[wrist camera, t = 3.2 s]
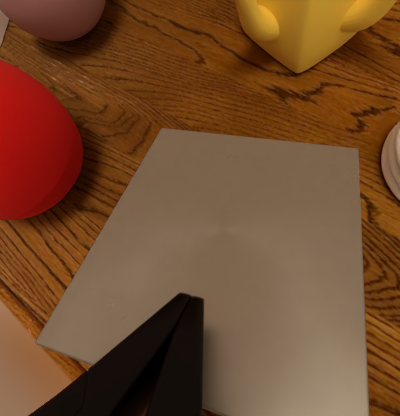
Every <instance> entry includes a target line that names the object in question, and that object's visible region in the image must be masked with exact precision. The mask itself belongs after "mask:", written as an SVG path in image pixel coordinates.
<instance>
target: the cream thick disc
mask: <svg viewBox="0 0 400 416" xmlns="http://www.w3.org/2000/svg"><path fill="white" fill-rule="evenodd" d="M381 165H382V171H383V175H384V178H385V180H386V182H387V185H388V186H389V188H390V189H391V191H392V192H393V194H394V195H395V196H396V197H397V198H398V199H399V200H400V121H399V122H398V123H397V124H396V125H395V126H394V128H393V129H392V130H391V131H390V133H389V135H388V136H387V138H386V140H385V143H384V146H383V150H382V155H381Z"/></svg>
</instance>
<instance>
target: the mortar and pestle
mask: <svg viewBox="0 0 400 416" xmlns="http://www.w3.org/2000/svg"><path fill="white" fill-rule="evenodd" d="M105 2H106V0H0V10H1V11H2V12H3V13H4V14H5V15H6V16H7V17H8V18H9V19H10V20H11V21H12V22H14V23H15V24H16V25H18V26H19V27H20V28H22V29H23V30H25V31H27V32H29V33H30V34H33V35H35V36H37V37H40V38H43V39H46V40H51V41H71V40H75V39H77V38H80V37H82V36H84V35H85V34H87V33H88V32H90V31H91V30H92V29H93V28H94V26H95V25H96V24H97V23H98V21H99V19H100V17H101V15H102V13H103V10H104V6H105Z"/></svg>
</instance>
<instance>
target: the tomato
mask: <svg viewBox="0 0 400 416" xmlns="http://www.w3.org/2000/svg"><path fill="white" fill-rule="evenodd" d="M82 163H83V144H82V138H81V135H80V133H79V131H78V128H77V127H76V125H75V123H74V121H73V119H72V117H71V116H70V114H69V113H68V111H67V110H66V109H65V107H64V106H63V105H62V104H61V103H60V102H59V101H58V99H57V98H56V97H55V96H54V95H53V94H52V93H51V92H50V91H49V90H48V89H47V88H46V87H45V86H44V85H42V84H41V83H40V82H39V81H37V80H36V79H34V78H33V77H32V76H30V75H29V74H28V73H26V72H24V71H22V70H21V69H19V68H17V67H15V66H13V65H11V64H9V63H7V62H4V61H2V60H0V220H18V219H25V218H29V217H33V216H36V215H39V214H41V213H43V212H44V211H46V210H48V209H50V208H51V207H53V206H54V205H56V204H57V203H58V202H59V201H61V200H62V199H63V198H64V196H65V195H66V194H67V193H68V192H69V191H70V189H71V188H72V186H73V185H74V183H75V182H76V180H77V178H78V176H79V173H80V171H81V167H82Z"/></svg>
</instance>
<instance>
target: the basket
mask: <svg viewBox="0 0 400 416" xmlns="http://www.w3.org/2000/svg"><path fill="white" fill-rule="evenodd" d="M8 21H9V18H8V17H7V16H6V15H5V14H4V13H3V12H2V11H1V10H0V47H1V44H2V41H3V38H4V34H5V31H6V28H7V25H8Z"/></svg>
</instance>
